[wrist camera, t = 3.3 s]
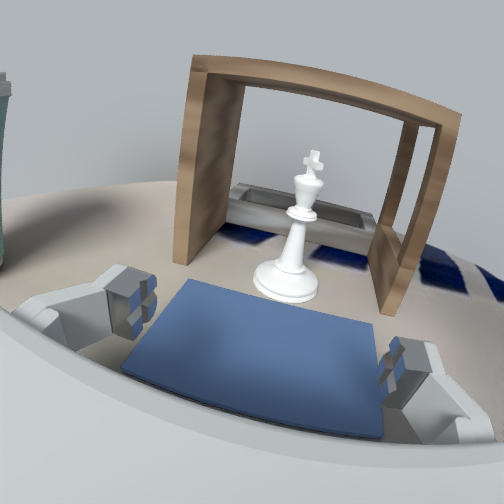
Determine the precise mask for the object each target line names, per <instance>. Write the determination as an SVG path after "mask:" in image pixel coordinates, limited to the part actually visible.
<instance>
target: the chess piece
mask: <svg viewBox="0 0 504 504" xmlns="http://www.w3.org/2000/svg"><path fill="white" fill-rule="evenodd" d="M319 155H320V152H318V151H315V150H311V153H310V157H309V158H308V157H304V162H303V163H304V164H306V165H308V167H307V172H306V174H304V175H297V176H295V177H294V186H295V197H296V203H297V205H295V206H291V207H289V208H288V210H287V211H286V213H287V215H288V216H290V217H291V218H294V220H293V223H292V226H291V229H290V232H289V235H288V238H287V241H286V243H285V246H284V249H283V251H282V254H281V256H280V258H277V259H276V260H269V261H265V262H263V263H261V264H260V265H259V266H258V267H257V268H256V271H255V274H254V276H253V282H254V284H255V286H256V288H257V289H258V290H259V291H260V292H262V293H263V294H264V295H266V296H268V297H270V298H272V299H275V300H278V301H281V302H286V303H302V302H306V301H309V300H311V299H312V298H314V297H315V295H316V294H317V287H318V280H317V277H316V276H315V274H314V273H313V272H312V271H311V270H309V269H308V268H306V267H305V265H304V264H303V263H302V261H303V251H304V242H305V234H306V226H307V222H313V221H316V220H317V217H316V216H317V214H316V213H315V212H314V211H312V209H311V206H312V205H313V203H314V202H315V200H316V198H317V196H318V194H319V193H320V192H321V190H322V189H323V187H324V183H323V182H322V180H320V179H318V178H317V177H316V176H315V174H316V170H322V168H323V163H320V162H318V160H319Z"/></svg>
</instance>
